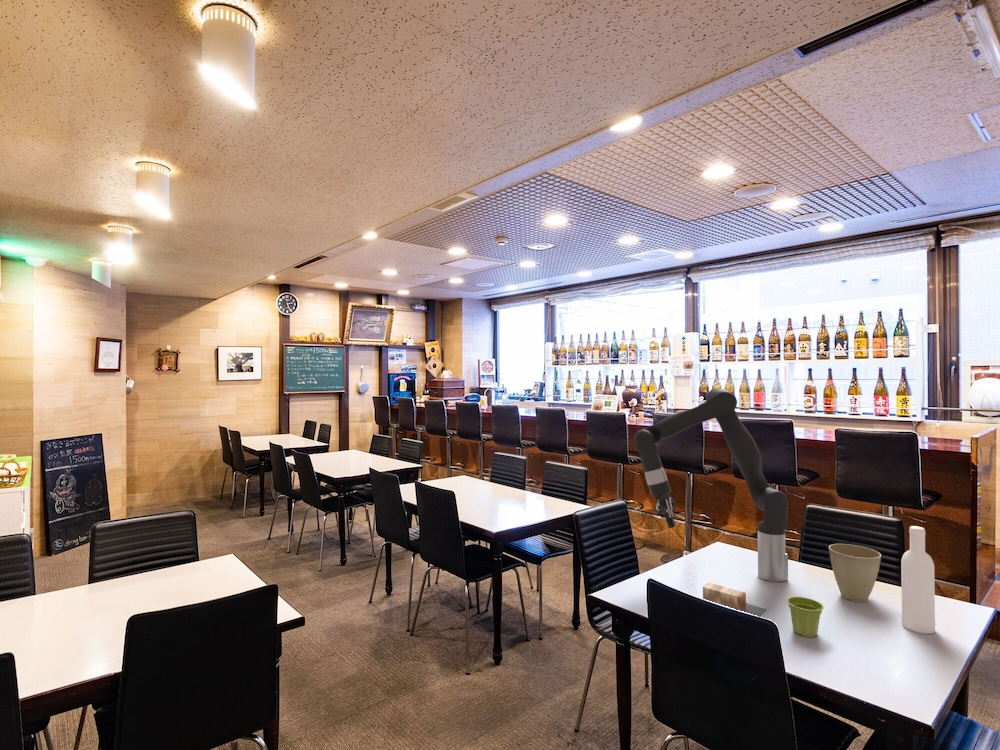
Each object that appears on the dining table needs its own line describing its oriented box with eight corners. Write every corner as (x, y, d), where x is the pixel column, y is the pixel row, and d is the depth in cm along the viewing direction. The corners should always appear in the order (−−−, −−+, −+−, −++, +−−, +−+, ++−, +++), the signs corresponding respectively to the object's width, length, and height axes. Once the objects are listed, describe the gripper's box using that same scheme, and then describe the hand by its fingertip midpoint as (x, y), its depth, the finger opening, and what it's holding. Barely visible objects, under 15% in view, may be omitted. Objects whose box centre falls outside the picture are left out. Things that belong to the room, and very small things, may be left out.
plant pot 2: (863, 610, 169) (863, 560, 170) (819, 593, 183) (818, 547, 183) (892, 601, 176) (891, 554, 176) (846, 585, 189) (846, 541, 189)
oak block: (702, 586, 176) (739, 597, 167) (709, 582, 179) (745, 592, 171) (702, 601, 176) (740, 613, 167) (709, 597, 179) (745, 608, 171)
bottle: (926, 636, 152) (925, 532, 152) (896, 625, 159) (895, 526, 159) (940, 630, 156) (939, 528, 156) (910, 619, 163) (909, 522, 163)
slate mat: (699, 607, 172) (699, 606, 172) (716, 595, 182) (716, 594, 182) (751, 623, 161) (751, 622, 161) (765, 609, 170) (765, 608, 170)
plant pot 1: (814, 625, 159) (813, 596, 159) (830, 641, 150) (830, 610, 150) (781, 624, 160) (781, 595, 160) (796, 639, 151) (795, 609, 151)
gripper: (657, 483, 191) (673, 531, 188) (674, 475, 200) (689, 521, 197) (640, 487, 196) (655, 533, 193) (657, 479, 205) (671, 523, 203)
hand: (672, 527), depth 195 cm, fingers closed
